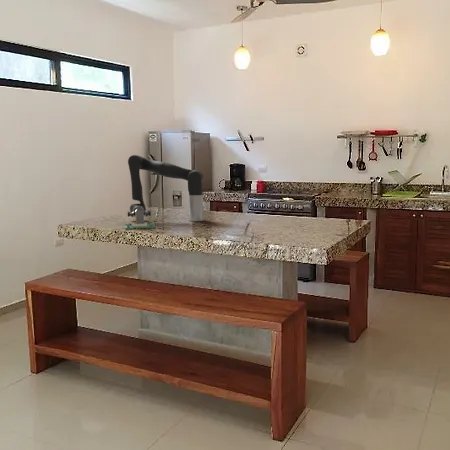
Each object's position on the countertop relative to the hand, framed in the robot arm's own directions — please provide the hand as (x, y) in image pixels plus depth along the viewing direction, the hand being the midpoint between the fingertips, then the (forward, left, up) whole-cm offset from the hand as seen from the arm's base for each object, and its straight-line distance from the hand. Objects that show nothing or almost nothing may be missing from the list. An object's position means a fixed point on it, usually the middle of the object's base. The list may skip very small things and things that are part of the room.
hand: (139, 215), depth 312 cm
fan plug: (0, -1, -7) cm, 7 cm away
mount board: (0, -1, -8) cm, 8 cm away
